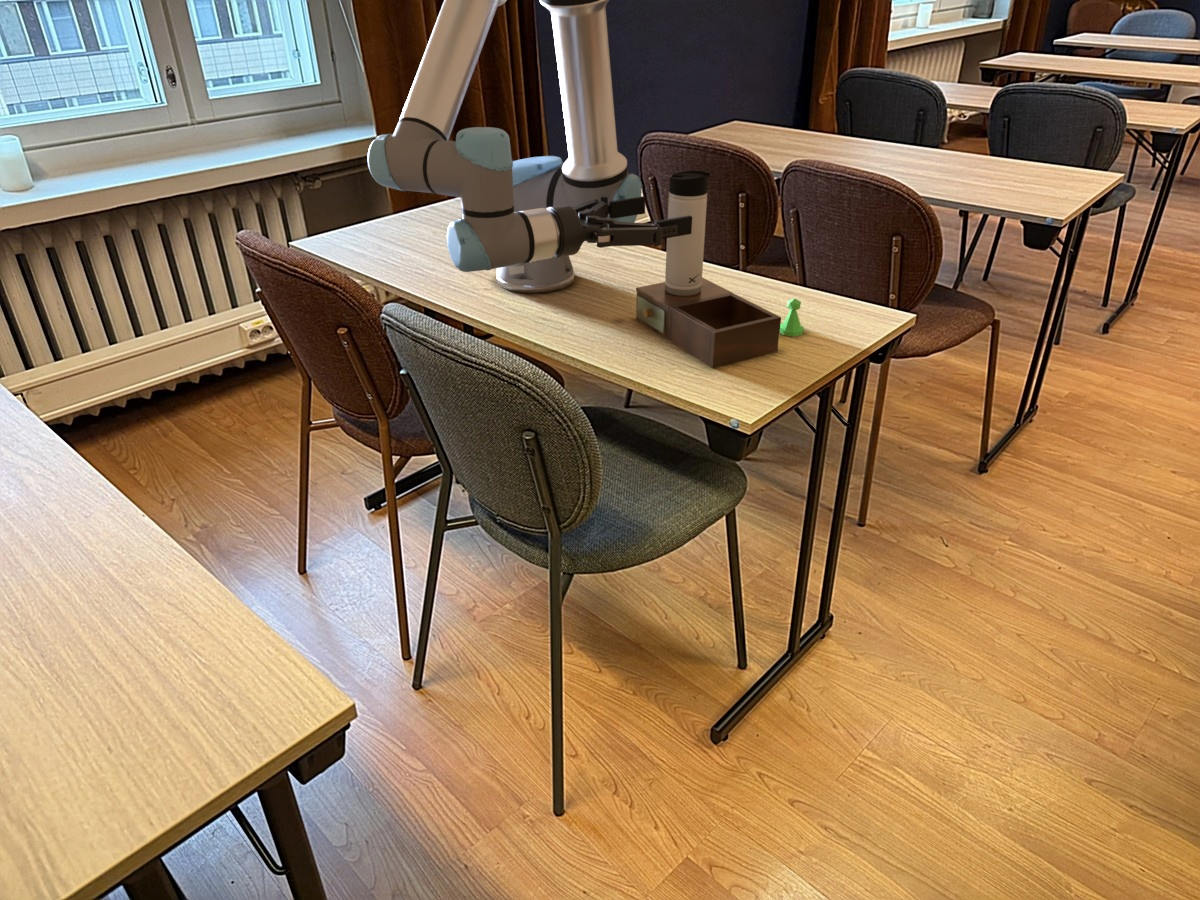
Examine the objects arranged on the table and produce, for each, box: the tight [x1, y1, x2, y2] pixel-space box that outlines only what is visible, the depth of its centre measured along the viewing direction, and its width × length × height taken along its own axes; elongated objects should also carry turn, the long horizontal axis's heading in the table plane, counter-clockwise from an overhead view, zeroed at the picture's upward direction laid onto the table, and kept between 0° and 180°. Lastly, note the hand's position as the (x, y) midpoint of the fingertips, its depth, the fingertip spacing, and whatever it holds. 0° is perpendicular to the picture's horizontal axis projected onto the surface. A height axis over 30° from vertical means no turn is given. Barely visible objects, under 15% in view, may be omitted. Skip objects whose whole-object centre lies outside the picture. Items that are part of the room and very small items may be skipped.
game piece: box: [779, 298, 805, 337], centre depth 145 cm, size 4×4×6 cm
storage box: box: [635, 276, 782, 369], centre depth 143 cm, size 23×14×6 cm, turn 29°
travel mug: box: [664, 169, 712, 296], centre depth 141 cm, size 6×7×20 cm
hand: (666, 214), depth 138 cm, fingers open, 13 cm apart
